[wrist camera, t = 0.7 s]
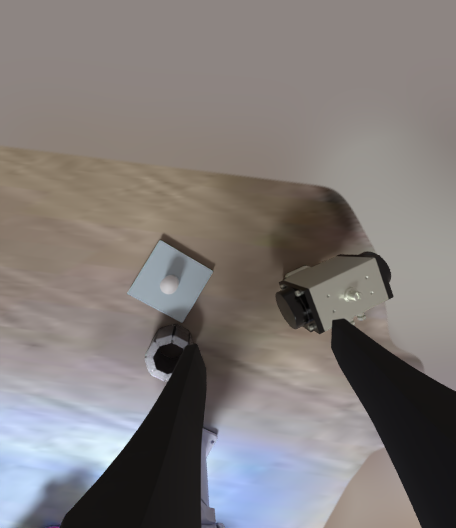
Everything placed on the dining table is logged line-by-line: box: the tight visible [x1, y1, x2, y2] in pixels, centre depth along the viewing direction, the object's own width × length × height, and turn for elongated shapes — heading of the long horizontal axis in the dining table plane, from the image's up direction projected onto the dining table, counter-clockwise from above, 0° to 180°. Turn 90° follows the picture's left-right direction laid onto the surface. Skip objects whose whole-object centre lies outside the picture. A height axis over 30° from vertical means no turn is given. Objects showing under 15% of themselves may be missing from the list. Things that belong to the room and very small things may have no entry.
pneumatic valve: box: [276, 252, 393, 334], centre depth 26 cm, size 6×12×12 cm, turn 113°
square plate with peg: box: [127, 240, 213, 323], centre depth 28 cm, size 8×8×4 cm
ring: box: [145, 324, 193, 382], centre depth 28 cm, size 5×5×4 cm
